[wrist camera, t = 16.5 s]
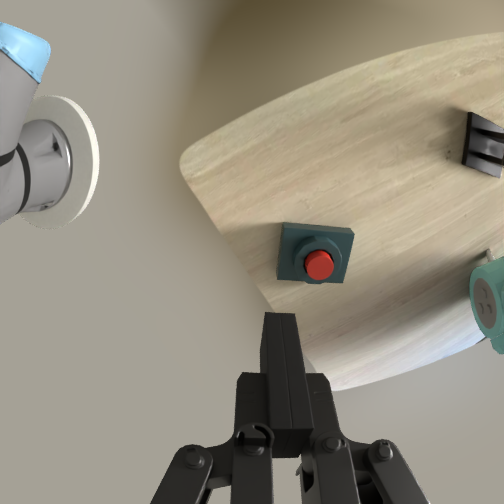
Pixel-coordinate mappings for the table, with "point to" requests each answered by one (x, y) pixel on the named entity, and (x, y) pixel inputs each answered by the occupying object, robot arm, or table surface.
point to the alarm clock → (489, 299)
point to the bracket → (483, 145)
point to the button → (319, 265)
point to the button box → (306, 241)
